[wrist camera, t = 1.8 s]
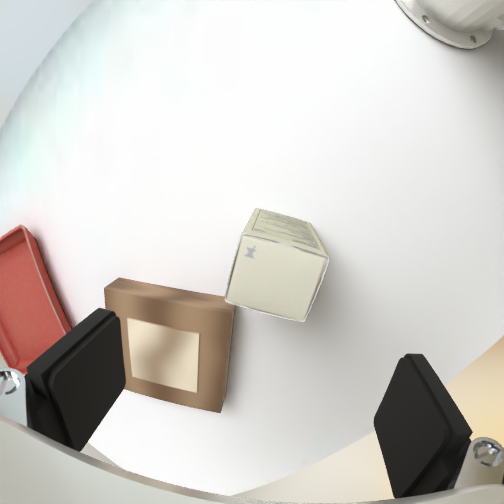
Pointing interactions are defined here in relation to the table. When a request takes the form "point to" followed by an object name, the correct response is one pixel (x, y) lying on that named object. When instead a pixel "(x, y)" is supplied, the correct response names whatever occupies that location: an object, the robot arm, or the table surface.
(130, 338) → the base slab
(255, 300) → the skincare box
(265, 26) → the table surface
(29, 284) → the plant saucer
